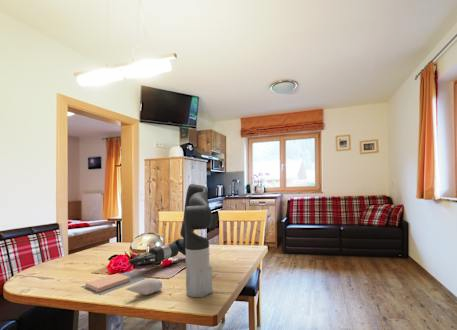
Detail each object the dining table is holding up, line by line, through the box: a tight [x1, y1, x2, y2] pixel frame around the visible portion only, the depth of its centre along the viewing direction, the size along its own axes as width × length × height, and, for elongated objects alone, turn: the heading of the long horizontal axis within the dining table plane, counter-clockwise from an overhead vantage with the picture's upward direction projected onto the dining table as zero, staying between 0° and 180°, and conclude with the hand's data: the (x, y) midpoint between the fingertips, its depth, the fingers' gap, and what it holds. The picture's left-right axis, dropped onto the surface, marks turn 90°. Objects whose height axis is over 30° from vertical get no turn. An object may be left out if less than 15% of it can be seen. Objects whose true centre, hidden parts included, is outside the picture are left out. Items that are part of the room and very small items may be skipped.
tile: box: [85, 272, 130, 292], centre depth 113 cm, size 10×2×14 cm
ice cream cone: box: [124, 277, 163, 296], centre depth 102 cm, size 6×6×15 cm
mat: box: [80, 271, 148, 296], centre depth 116 cm, size 16×22×1 cm
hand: (129, 262), depth 122 cm, fingers closed
